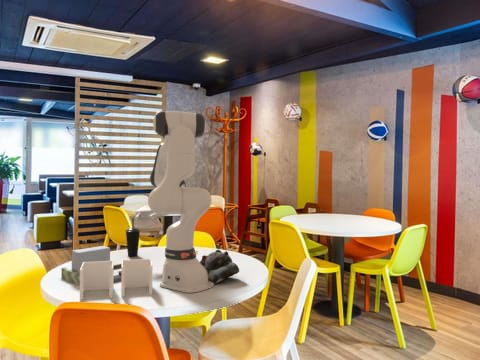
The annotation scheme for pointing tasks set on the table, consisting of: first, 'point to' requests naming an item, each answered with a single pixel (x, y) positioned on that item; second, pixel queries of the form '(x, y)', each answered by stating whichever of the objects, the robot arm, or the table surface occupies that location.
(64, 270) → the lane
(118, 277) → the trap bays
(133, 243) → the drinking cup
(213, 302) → the table surface
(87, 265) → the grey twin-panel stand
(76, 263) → the slate block
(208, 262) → the dark grey lumpy object
